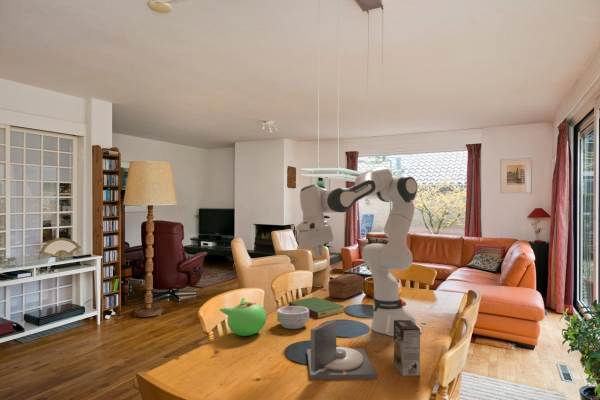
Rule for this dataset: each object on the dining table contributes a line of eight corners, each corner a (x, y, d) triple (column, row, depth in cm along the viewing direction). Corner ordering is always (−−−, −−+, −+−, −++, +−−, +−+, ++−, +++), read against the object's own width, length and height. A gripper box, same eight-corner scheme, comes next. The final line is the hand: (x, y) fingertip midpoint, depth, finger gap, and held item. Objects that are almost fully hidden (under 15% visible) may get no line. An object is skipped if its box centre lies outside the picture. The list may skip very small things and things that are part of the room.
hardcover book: (288, 308, 208) (288, 302, 208) (314, 303, 220) (314, 296, 220) (318, 320, 189) (318, 312, 189) (344, 313, 200) (344, 306, 200)
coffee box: (393, 364, 135) (393, 319, 136) (410, 364, 136) (410, 319, 136) (402, 376, 126) (402, 328, 126) (420, 375, 127) (420, 327, 127)
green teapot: (247, 344, 155) (247, 308, 155) (217, 336, 164) (217, 302, 164) (273, 331, 170) (273, 299, 170) (244, 325, 179) (244, 294, 179)
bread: (325, 297, 232) (325, 277, 232) (348, 289, 254) (348, 271, 254) (344, 301, 223) (344, 280, 223) (367, 292, 245) (366, 273, 246)
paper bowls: (288, 319, 188) (288, 303, 188) (314, 324, 181) (314, 307, 181) (270, 328, 175) (270, 311, 175) (298, 333, 167) (298, 316, 168)
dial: (332, 347, 147) (332, 308, 147) (371, 358, 137) (371, 317, 137) (292, 369, 128) (292, 325, 128) (334, 383, 118) (334, 335, 118)
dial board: (363, 352, 147) (363, 347, 147) (376, 378, 125) (376, 373, 125) (307, 352, 146) (307, 348, 146) (310, 379, 124) (310, 374, 124)
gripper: (322, 220, 168) (327, 251, 168) (293, 227, 152) (298, 261, 152) (334, 219, 164) (338, 250, 164) (305, 226, 148) (310, 261, 148)
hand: (319, 256), depth 158 cm, fingers closed
